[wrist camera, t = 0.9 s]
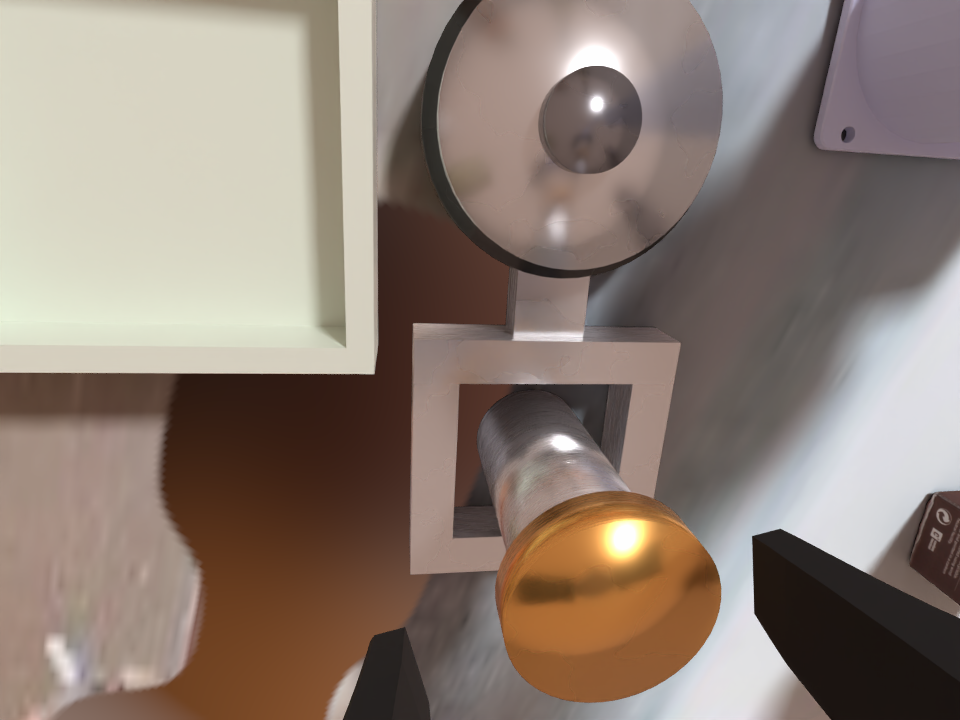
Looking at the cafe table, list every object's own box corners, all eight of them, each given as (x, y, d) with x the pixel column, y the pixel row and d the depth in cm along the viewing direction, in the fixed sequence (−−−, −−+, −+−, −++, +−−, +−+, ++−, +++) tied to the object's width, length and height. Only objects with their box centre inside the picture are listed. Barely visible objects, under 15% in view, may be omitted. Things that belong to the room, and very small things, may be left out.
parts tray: (376, -87, 15) (370, -146, 12) (378, 344, 19) (374, 373, 16) (-146, -153, 13) (-291, -239, 11) (-25, 340, 17) (-107, 372, 15)
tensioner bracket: (709, -11, 17) (790, -60, 14) (622, 532, 23) (662, 596, 20) (418, -45, 16) (423, -108, 12) (409, 540, 22) (411, 611, 18)
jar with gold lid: (600, 374, 21) (741, 516, 12) (584, 493, 22) (699, 693, 14) (464, 374, 20) (512, 525, 11) (458, 497, 22) (496, 711, 13)
